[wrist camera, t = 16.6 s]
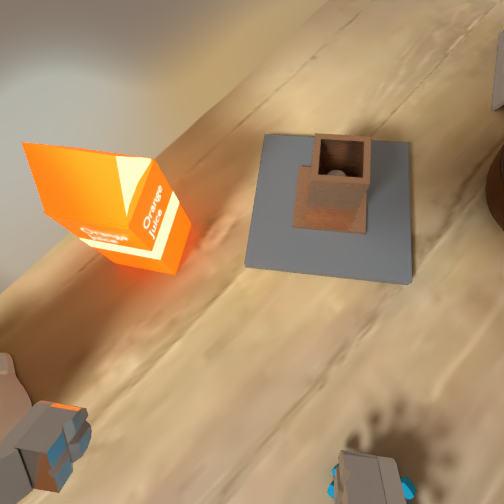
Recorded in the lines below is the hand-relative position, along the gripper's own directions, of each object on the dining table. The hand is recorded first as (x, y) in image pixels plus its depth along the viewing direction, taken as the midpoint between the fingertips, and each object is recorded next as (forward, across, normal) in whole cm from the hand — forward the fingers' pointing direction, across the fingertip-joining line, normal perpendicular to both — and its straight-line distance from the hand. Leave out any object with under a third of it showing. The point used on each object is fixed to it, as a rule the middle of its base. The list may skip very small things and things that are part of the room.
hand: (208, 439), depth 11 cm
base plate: (+38, -6, +3) cm, 39 cm away
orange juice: (+33, +17, +9) cm, 38 cm away
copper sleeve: (+37, -6, +2) cm, 38 cm away
